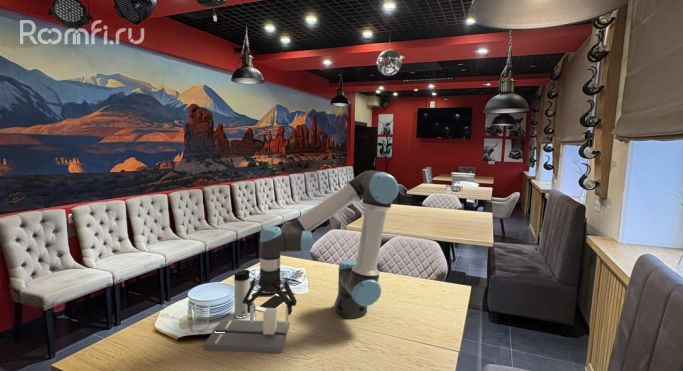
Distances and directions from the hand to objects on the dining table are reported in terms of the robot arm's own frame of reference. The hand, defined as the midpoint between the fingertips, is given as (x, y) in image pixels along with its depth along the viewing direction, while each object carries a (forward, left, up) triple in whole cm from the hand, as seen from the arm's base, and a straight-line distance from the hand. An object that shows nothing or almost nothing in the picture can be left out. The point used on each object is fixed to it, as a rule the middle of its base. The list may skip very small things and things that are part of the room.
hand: (269, 321), depth 133 cm
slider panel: (+8, 0, -7) cm, 10 cm away
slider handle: (0, 0, -7) cm, 7 cm away
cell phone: (+5, -29, -8) cm, 30 cm away
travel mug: (+16, -17, -7) cm, 24 cm away
